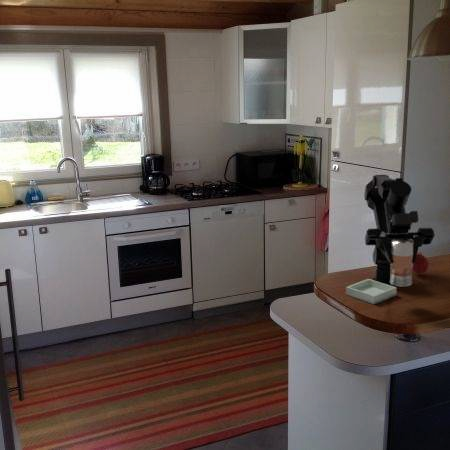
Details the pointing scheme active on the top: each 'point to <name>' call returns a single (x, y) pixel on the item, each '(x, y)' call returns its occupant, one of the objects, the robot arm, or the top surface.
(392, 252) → the tin
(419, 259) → the onion
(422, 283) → the top surface
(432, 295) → the top surface
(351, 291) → the pale green square tray
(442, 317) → the top surface
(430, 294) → the top surface
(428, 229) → the robot arm
